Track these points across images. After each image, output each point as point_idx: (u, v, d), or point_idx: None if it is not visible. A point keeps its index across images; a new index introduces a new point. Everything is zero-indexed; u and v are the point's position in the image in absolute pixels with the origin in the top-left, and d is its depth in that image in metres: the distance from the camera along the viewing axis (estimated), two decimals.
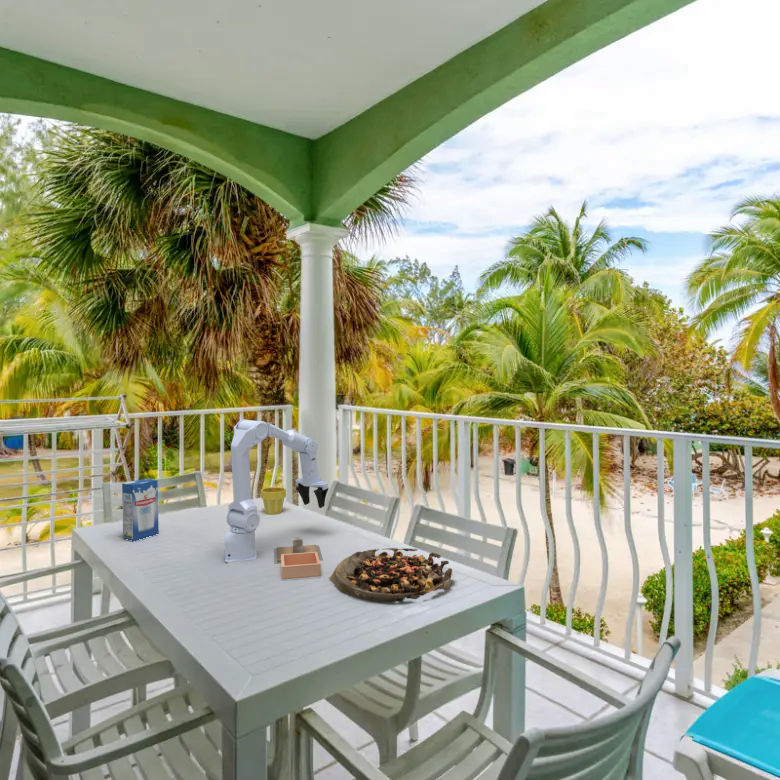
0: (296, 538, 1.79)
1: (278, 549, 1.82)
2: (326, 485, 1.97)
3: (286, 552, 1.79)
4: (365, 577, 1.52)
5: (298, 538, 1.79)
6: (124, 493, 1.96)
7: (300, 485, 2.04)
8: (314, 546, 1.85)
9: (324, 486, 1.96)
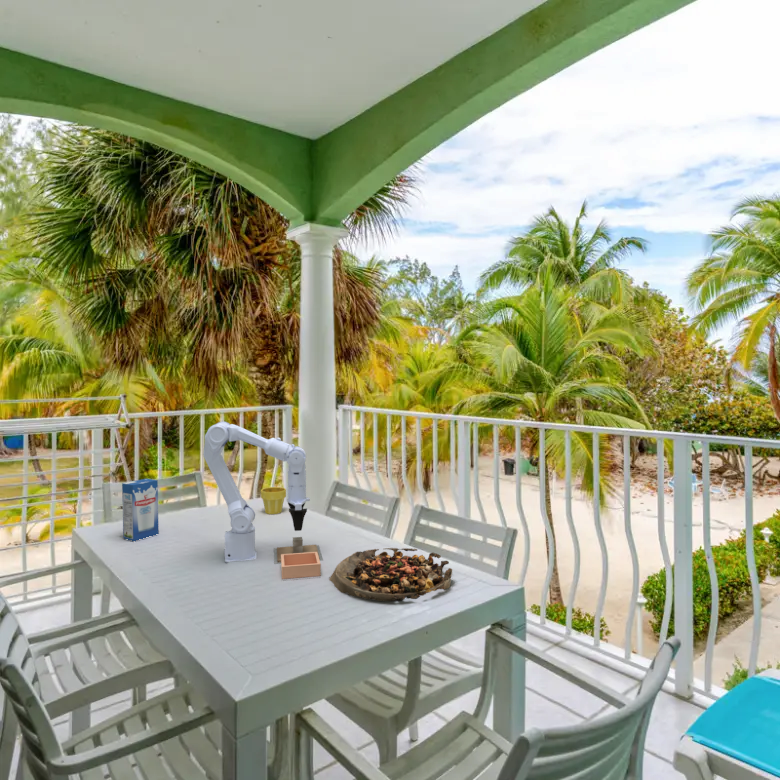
0: (296, 538, 1.79)
1: (278, 549, 1.82)
2: (299, 506, 1.72)
3: (286, 552, 1.79)
4: (365, 577, 1.52)
5: (298, 538, 1.79)
6: (124, 493, 1.96)
7: None
8: (314, 546, 1.85)
9: (296, 506, 1.72)
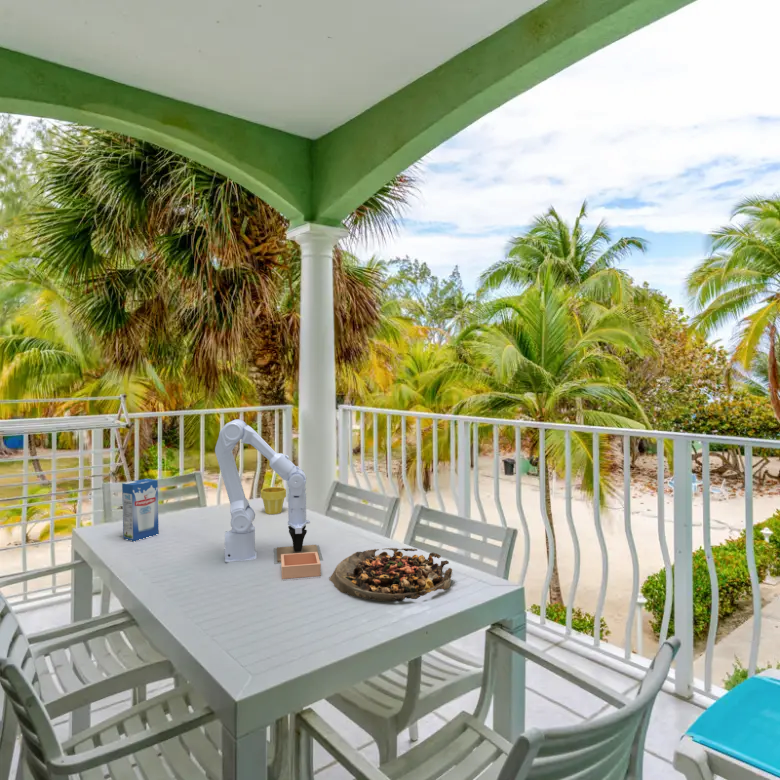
0: None
1: (278, 549, 1.82)
2: (299, 529, 1.72)
3: (286, 552, 1.79)
4: (365, 577, 1.52)
5: None
6: (124, 493, 1.96)
7: None
8: (314, 546, 1.85)
9: (296, 530, 1.72)
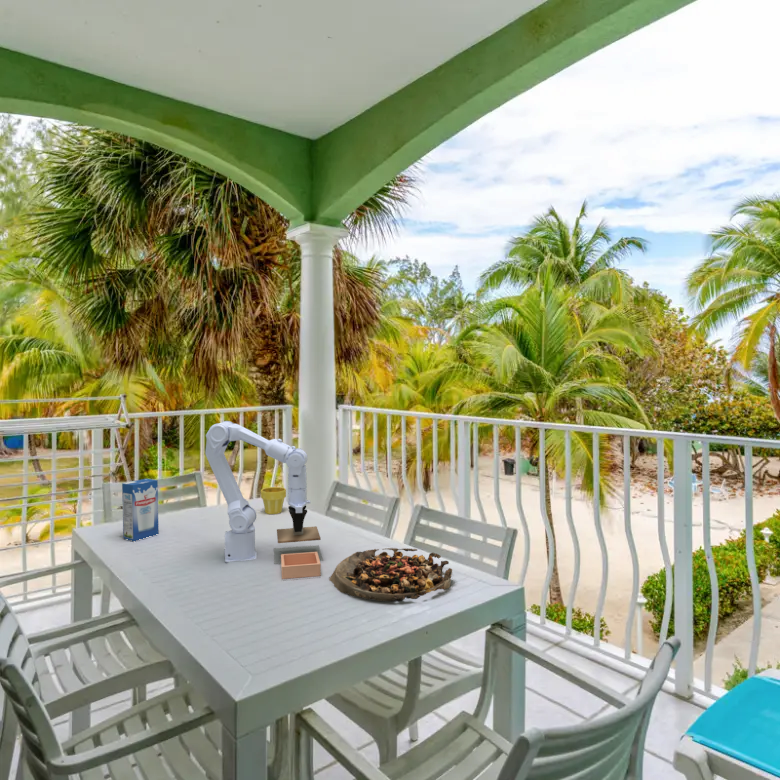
0: None
1: (278, 531, 1.80)
2: (300, 509, 1.70)
3: (286, 533, 1.77)
4: (365, 577, 1.52)
5: None
6: (124, 493, 1.96)
7: None
8: (314, 528, 1.83)
9: (296, 509, 1.70)
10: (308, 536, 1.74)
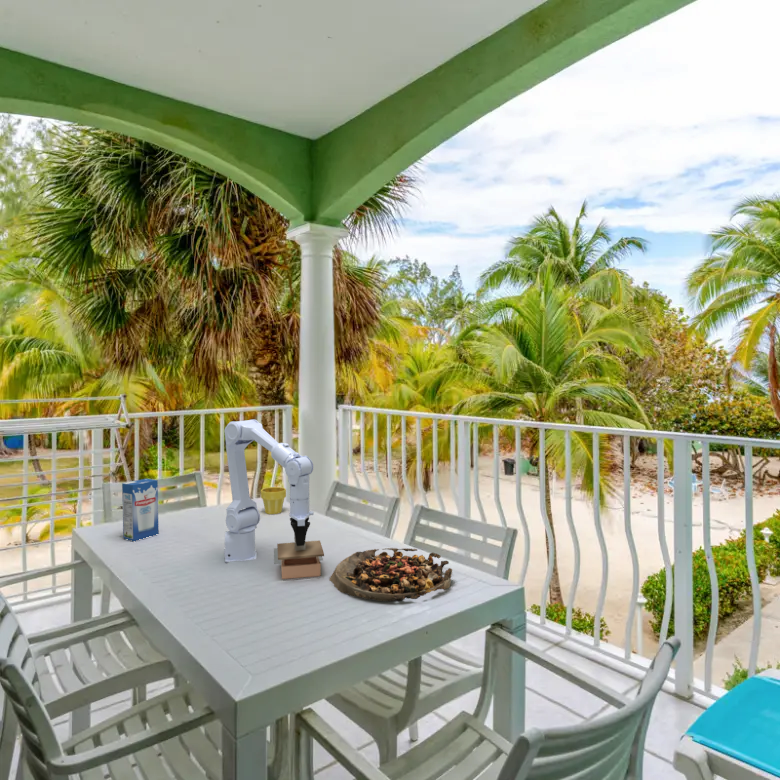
0: None
1: (279, 545, 1.67)
2: (302, 521, 1.57)
3: (287, 549, 1.64)
4: (365, 577, 1.52)
5: None
6: (124, 493, 1.96)
7: None
8: (318, 542, 1.70)
9: (299, 521, 1.57)
10: (311, 552, 1.61)
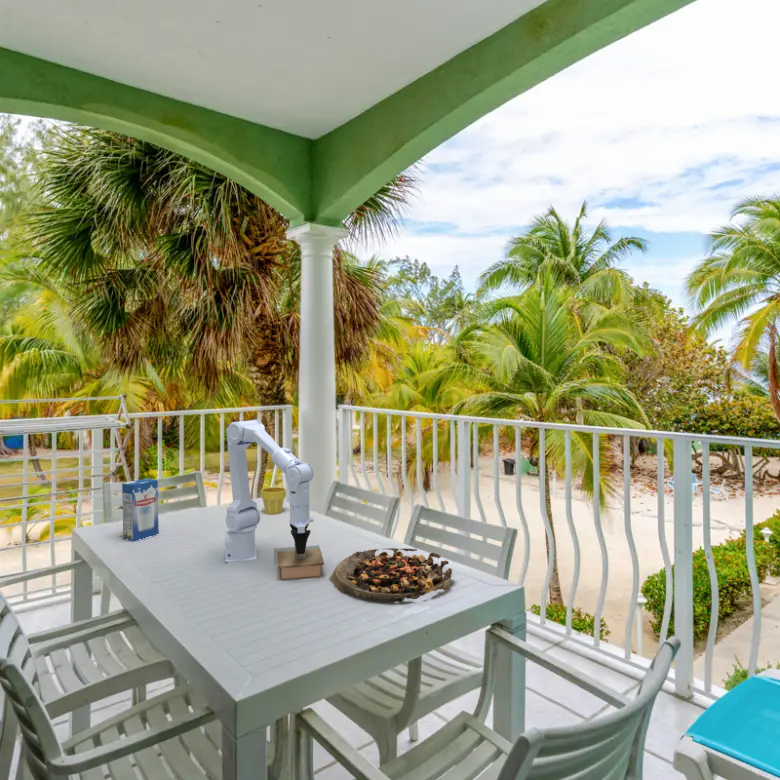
0: None
1: (279, 553, 1.68)
2: (302, 528, 1.57)
3: (287, 557, 1.65)
4: (365, 577, 1.52)
5: None
6: (124, 493, 1.96)
7: None
8: (318, 550, 1.71)
9: (299, 529, 1.57)
10: (311, 560, 1.61)
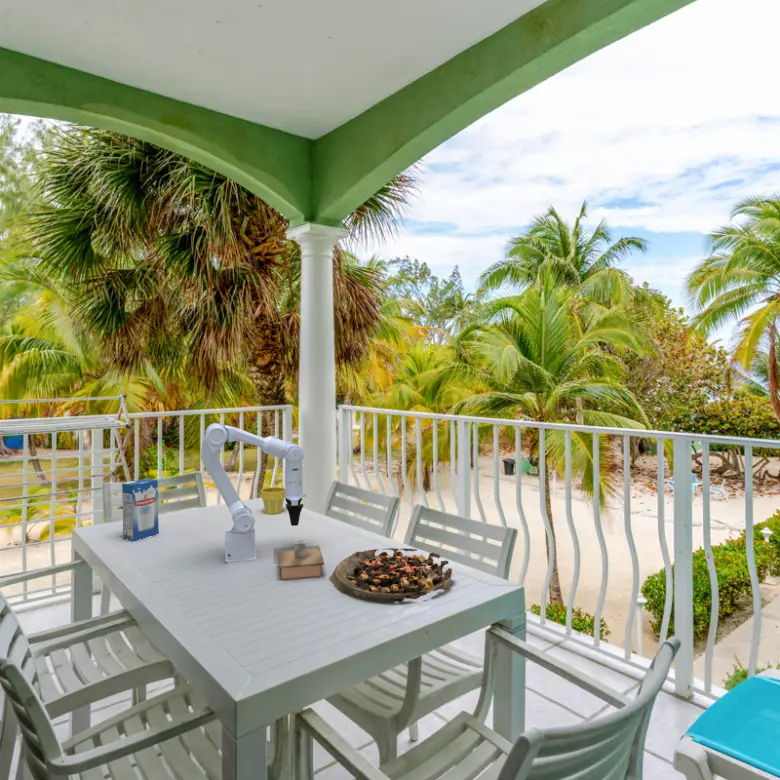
0: (298, 541, 1.65)
1: (279, 553, 1.68)
2: (295, 501, 1.75)
3: (287, 557, 1.65)
4: (365, 577, 1.52)
5: (300, 541, 1.65)
6: (124, 493, 1.96)
7: None
8: (318, 550, 1.71)
9: (292, 501, 1.75)
10: (311, 560, 1.61)
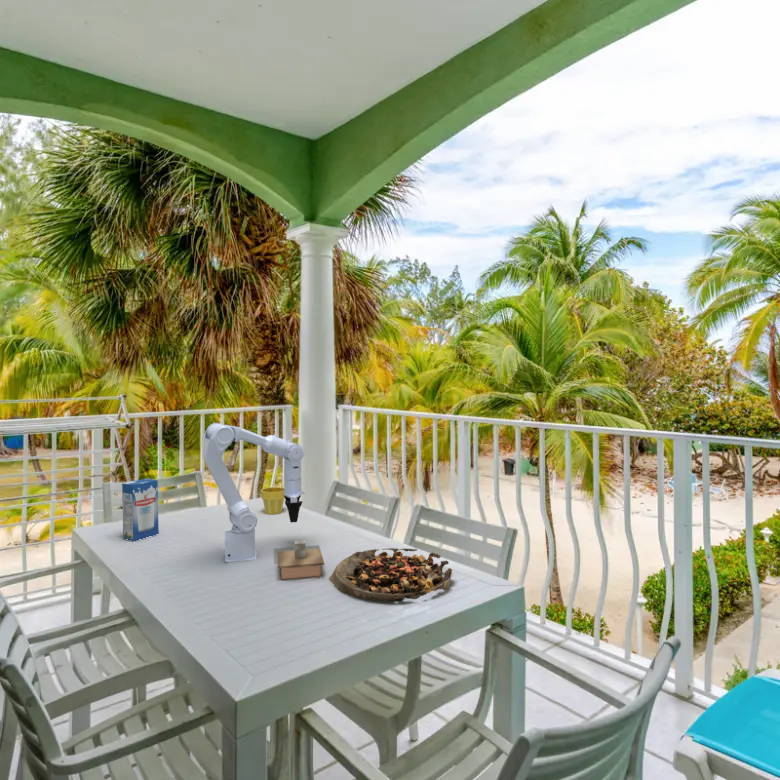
0: (298, 541, 1.65)
1: (279, 553, 1.68)
2: (295, 498, 1.79)
3: (287, 557, 1.65)
4: (365, 577, 1.52)
5: (300, 541, 1.65)
6: (124, 493, 1.96)
7: None
8: (318, 550, 1.71)
9: (291, 499, 1.79)
10: (311, 560, 1.61)
